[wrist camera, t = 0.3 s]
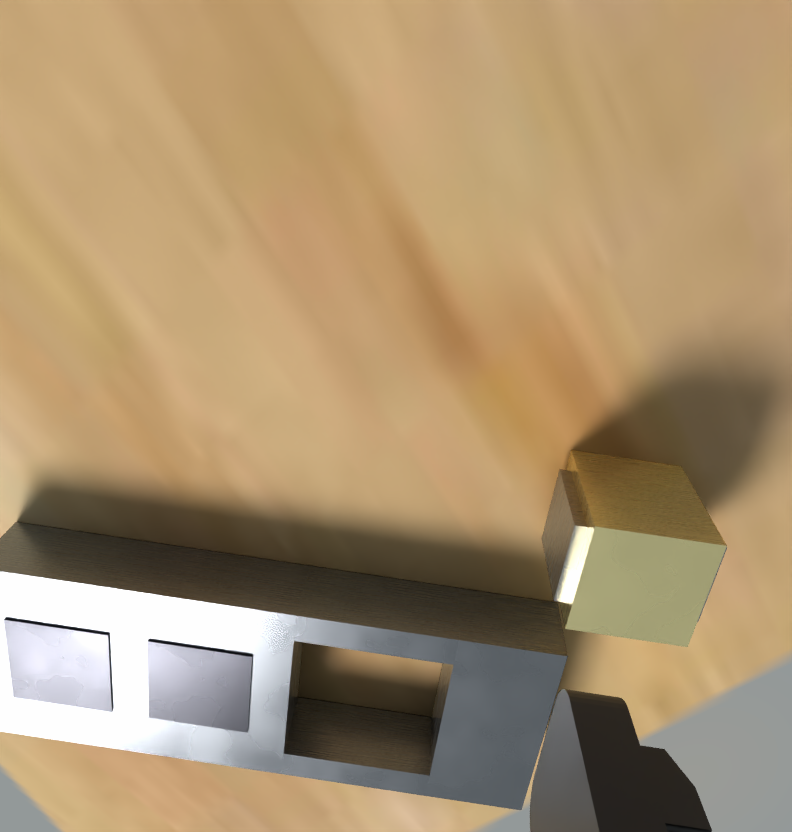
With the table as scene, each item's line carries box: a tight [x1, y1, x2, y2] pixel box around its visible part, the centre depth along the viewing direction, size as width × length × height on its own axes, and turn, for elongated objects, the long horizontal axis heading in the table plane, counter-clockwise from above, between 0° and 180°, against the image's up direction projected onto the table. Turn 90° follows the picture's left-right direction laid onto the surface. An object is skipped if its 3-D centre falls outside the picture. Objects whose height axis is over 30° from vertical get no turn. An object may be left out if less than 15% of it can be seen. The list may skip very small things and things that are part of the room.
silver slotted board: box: [0, 522, 568, 810], centre depth 30 cm, size 8×22×3 cm, turn 82°
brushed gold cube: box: [542, 450, 727, 647], centre depth 25 cm, size 4×5×5 cm
